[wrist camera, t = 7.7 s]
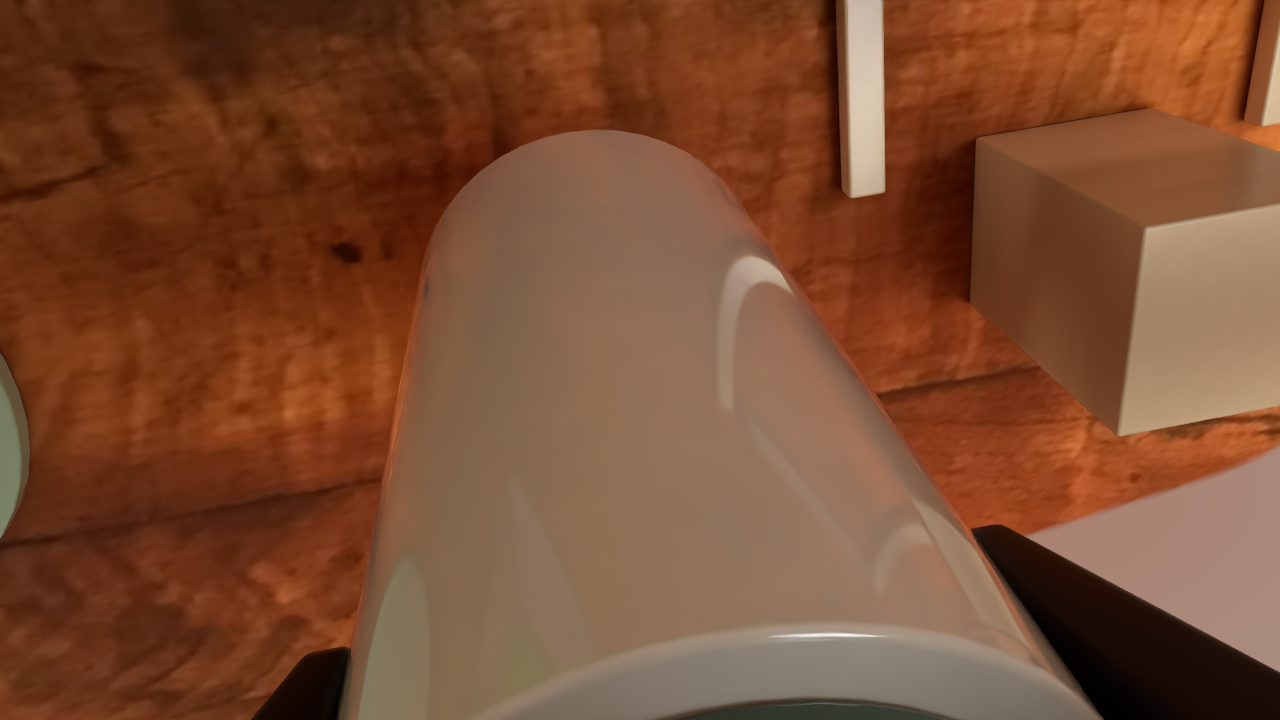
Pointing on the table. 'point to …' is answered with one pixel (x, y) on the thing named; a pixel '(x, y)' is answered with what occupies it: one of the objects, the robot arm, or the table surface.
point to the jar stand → (1113, 241)
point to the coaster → (12, 448)
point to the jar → (660, 482)
